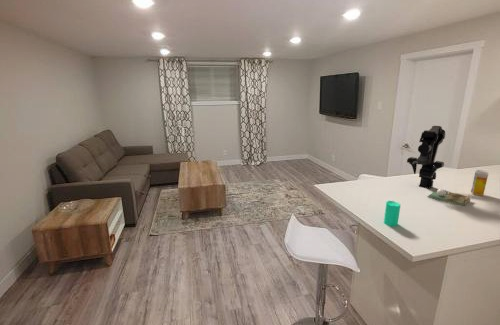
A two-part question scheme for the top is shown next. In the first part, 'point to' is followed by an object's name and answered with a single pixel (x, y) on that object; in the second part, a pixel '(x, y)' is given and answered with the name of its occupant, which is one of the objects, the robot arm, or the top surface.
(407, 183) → the top surface
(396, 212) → the candle
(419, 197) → the top surface
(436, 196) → the putting mat
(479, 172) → the orange cylindrical container
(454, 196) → the u-shaped wooden rail
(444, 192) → the golf ball
